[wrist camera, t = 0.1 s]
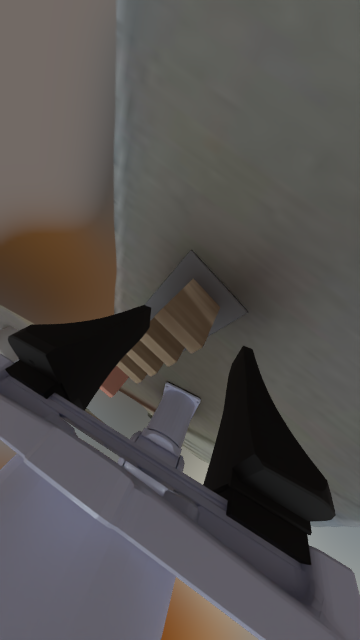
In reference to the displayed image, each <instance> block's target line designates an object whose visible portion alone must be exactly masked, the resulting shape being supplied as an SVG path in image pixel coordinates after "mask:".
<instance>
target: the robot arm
mask: <svg viewBox="0 0 360 640" xmlns="http://www.w3.org/2000/svg"><path fill="white" fill-rule="evenodd" d="M150 318H151V307H148V306H146V305H143V306H140V307H137V308H134V309H131V310H128V311H125V312H122V313H118V314H115V315H111V316H108V317H104V318H100V319H95V320H90V321H84V322H76V323H67V324H48V325H47V324H43V325H30V326H28V327H26V328H24V329H22V330H20V331H18V332H16V333H14V334H12V335H10V336H8V342H9V344H10V346H11V348H12V349H13V351H14V352H15V354H16V355H17V357H18V358H19V361H17V362H16V363H14V362H13V361H11V360H10V359H9V358H7V357H5V356H4V355H2V354H1V353H0V440H1V441H3V442H4V443H5V444H6V445H8V446H9V447H10V448H11V449H12V450H14V451H15V452H16V453H17V454H16V455H15V456H14V457H13V458H12V459H11V460H10V461H9V462H8V463H7V464H6V465H5V466H4V467H3V468H2V469H1V470H0V640H161V636H162V632H163V628H164V624H165V620H166V616H167V611H168V607H169V603H170V599H171V594H172V590H173V586H174V582H175V578H176V577H177V578H179V579H180V580H181V581H183V582H184V583H185V584H187V585H188V586H189V587H190V588H192V589H193V590H194V591H196V592H197V593H198V594H200V595H201V596H202V597H204V598H205V599H206V600H208V601H209V602H211V603H212V604H213V605H214V606H216V607H217V608H218V609H220V610H221V611H222V612H224V613H225V614H226V615H227V616H229V617H230V618H231V619H233V620H234V621H235V622H237V623H238V624H240V625H241V626H242V627H243V628H245V629H246V630H247V631H249V632H250V633H251V634H253V635H254V636H255V637H257V638H258V639H259V640H360V595H359V591H358V587H357V583H356V579H355V575H354V573H353V572H352V570H351V569H350V568H348V567H346V566H345V565H343V564H342V563H340V562H338V561H337V560H335V559H333V558H332V557H330V556H328V555H327V554H325V553H324V552H322V551H320V550H318V549H316V548H314V547H312V546H309V545H308V537H307V534H308V535H311V533H312V532H311V525H310V521H327V520H331V519H332V518H333V517H334V516H335V510H334V505H333V501H332V497H331V493H330V489H329V486H328V482H327V480H326V479H325V477H324V476H323V475H322V473H321V472H320V471H319V470H318V468H317V467H316V466H315V464H314V463H313V462H312V461H311V459H310V458H309V457H308V455H307V454H306V453H305V451H304V450H303V449H302V447H301V446H300V444H299V443H298V442H297V440H296V439H295V437H294V436H293V434H292V433H291V431H290V430H289V428H288V427H287V425H286V423H285V422H284V420H283V419H282V417H281V415H280V414H279V412H278V410H277V408H276V407H275V405H274V403H273V401H272V399H271V397H270V395H269V393H268V391H267V388H266V386H265V384H264V381H263V379H262V376H261V374H260V371H259V368H258V365H257V362H256V359H255V356H254V353H253V350H252V349H250V348H248V347H245V346H243V347H242V349H241V350H240V352H239V353H238V355H237V357H236V358H235V360H234V362H233V363H232V366H231V369H230V373H229V377H228V383H227V390H226V398H225V405H224V411H223V415H222V419H221V424H220V428H219V431H218V435H217V439H216V443H215V446H214V450H213V454H212V457H211V461H210V464H209V468H208V471H207V474H206V478H205V481H204V484H203V485H202V484H200V483H199V482H197V481H195V480H194V479H192V478H191V477H189V476H187V475H186V474H184V473H183V468H184V460H183V457H182V456H181V455H180V453H181V450H182V449H181V447H182V444H183V441H184V438H185V435H186V432H187V429H188V426H189V423H190V420H191V419H192V417H193V415H194V413H195V411H196V409H197V407H198V405H199V403H200V401H201V399H200V398H198V397H196V396H194V395H192V394H190V393H188V392H186V391H184V390H182V389H180V388H178V387H176V386H174V385H172V384H170V383H168V382H166V384H165V388H164V393H163V397H162V400H161V402H160V403H159V405H158V407H157V409H156V411H155V413H154V415H153V417H152V418H151V421H150V422H149V424H148V426H147V428H144V429H143V431H142V432H141V431H138V432H136V433H134V434H133V435H132V437H131V438H130V439H128V438H127V437H125V436H123V435H122V434H120V433H119V432H117V431H115V430H114V429H112V428H111V427H109V426H107V425H106V424H104V423H103V422H101V421H100V420H98V419H96V418H95V417H93V416H92V415H90V414H88V413H87V412H85V409H86V407H87V406H88V404H89V403H90V401H91V400H92V398H93V397H94V395H95V394H96V392H97V391H98V389H99V388H100V387H101V385H102V384H103V382H104V381H105V380H106V378H107V377H108V376H109V374H110V373H111V372H112V370H113V369H114V368H115V367H116V365H117V364H118V363H119V361H120V360H121V359H122V358H123V357H124V356H125V355H126V354H127V353H128V352H129V351H130V350H131V349H132V348H133V347H134V346H135V345H136V344H137V343H138V342H139V341H140V339H141V338H142V337H143V336H144V335H145V333H146V332H147V331H148V329H149V328H150ZM63 419H64V420H63ZM66 421H67V422H68V423H70V424H71V425H73V426H74V427H76V428H77V429H79V430H80V431H82V432H83V433H85V434H86V435H88V436H89V437H91V438H92V439H94V440H96V441H97V442H98V443H100V444H101V445H103V446H105V447H106V448H107V449H109V450H110V451H112V452H114V453H115V454H117V455H118V456H120V458H119V461H118V463H116V462H115V461H113V460H112V459H110V458H109V457H107V456H106V455H104V454H103V453H102V452H100V451H99V450H97V449H96V448H94V447H93V446H91V445H89V444H88V443H86V442H85V441H83V440H81V439H80V438H78V436H77V435H76V433H75V430H74V428H73V427H71V425H69V424H68V423H67V422H66Z"/></svg>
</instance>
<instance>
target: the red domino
mask: <svg viewBox="0 0 360 640" xmlns="http://www.w3.org/2000/svg"><path fill="white" fill-rule="evenodd" d="M128 377H129V376H128V375H126V374H125V373H124V372H123V371H122V370H121V369H120V368H119V367H118V366H116V367H115V368H114V369H113V370H112V372H111V373H110V374H109V376H108V377H107V378H106V380H105V381H104V382H103V384H102V385H101V387H100V389H101V390H102V391H103V392H104V393H106V394H107V395H108V396H109V397H110V398H111V397H113V396H114V395H115V394H116V392H117V391H118V390H119V389H120V387H121V386H122V385H123V384H124V382H125V381H126V380H127V379H128Z"/></svg>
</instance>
